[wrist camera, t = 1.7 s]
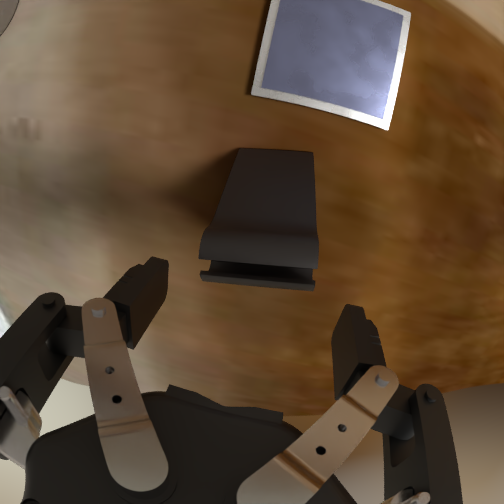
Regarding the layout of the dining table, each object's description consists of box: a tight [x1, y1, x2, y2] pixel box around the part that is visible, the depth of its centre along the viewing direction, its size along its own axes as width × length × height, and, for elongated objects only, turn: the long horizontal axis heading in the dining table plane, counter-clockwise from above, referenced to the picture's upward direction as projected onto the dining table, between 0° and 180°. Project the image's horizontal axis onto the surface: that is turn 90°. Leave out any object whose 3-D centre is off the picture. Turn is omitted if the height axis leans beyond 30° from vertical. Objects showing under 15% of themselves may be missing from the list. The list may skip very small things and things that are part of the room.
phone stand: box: [199, 148, 319, 291], centre depth 21 cm, size 9×6×12 cm, turn 178°
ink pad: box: [251, 0, 411, 130], centre depth 19 cm, size 11×11×1 cm
